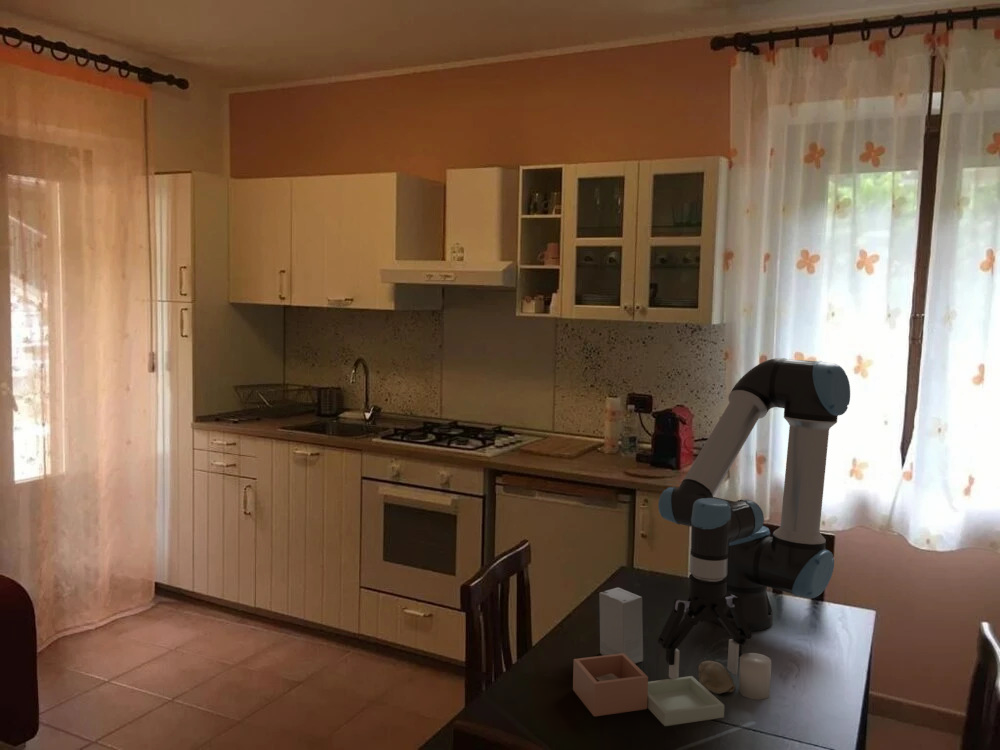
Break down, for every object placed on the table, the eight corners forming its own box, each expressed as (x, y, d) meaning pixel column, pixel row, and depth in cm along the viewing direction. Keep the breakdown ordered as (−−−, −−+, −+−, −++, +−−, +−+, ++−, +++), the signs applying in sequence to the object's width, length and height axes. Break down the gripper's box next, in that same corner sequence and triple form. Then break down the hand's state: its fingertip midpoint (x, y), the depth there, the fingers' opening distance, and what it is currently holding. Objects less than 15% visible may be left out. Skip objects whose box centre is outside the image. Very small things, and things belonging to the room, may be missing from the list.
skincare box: (643, 663, 186) (645, 597, 185) (622, 670, 183) (624, 602, 181) (617, 649, 193) (619, 585, 192) (597, 655, 190) (598, 590, 188)
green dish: (691, 690, 174) (692, 675, 174) (723, 720, 163) (724, 705, 162) (635, 697, 171) (636, 683, 171) (664, 729, 159) (665, 713, 159)
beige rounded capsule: (758, 683, 177) (760, 651, 177) (775, 697, 172) (777, 664, 171) (733, 687, 176) (734, 654, 175) (749, 701, 170) (750, 667, 169)
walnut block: (610, 692, 172) (611, 673, 171) (623, 700, 168) (624, 681, 168) (594, 697, 170) (595, 677, 169) (607, 705, 166) (608, 686, 166)
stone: (729, 694, 178) (704, 661, 182) (745, 681, 174) (719, 648, 178) (709, 709, 174) (683, 676, 178) (724, 697, 170) (698, 662, 174)
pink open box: (623, 685, 176) (624, 653, 175) (646, 711, 165) (648, 677, 165) (572, 692, 173) (573, 659, 172) (593, 719, 162) (594, 684, 162)
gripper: (751, 565, 182) (746, 661, 184) (643, 573, 175) (639, 673, 177) (772, 576, 175) (766, 676, 177) (660, 586, 168) (656, 690, 170)
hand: (703, 675), depth 177 cm, fingers open, 13 cm apart
